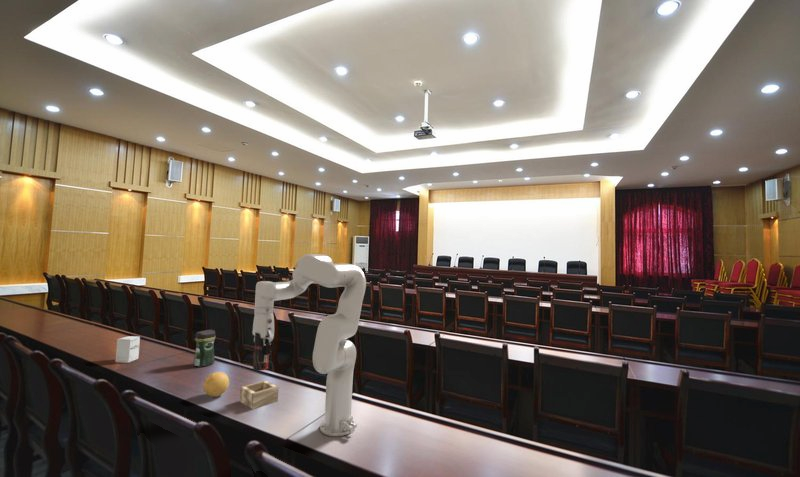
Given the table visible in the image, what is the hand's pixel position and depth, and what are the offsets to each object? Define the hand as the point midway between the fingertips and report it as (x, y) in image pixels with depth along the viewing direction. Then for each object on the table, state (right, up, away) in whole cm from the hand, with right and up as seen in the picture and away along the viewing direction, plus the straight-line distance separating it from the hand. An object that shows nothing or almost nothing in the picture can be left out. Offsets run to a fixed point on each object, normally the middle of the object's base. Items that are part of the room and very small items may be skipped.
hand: (261, 352), depth 146 cm
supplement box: (-92, -19, +44) cm, 104 cm away
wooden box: (-1, -20, -1) cm, 20 cm away
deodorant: (0, -7, 0) cm, 7 cm away
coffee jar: (-49, -21, +42) cm, 67 cm away
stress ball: (-21, -20, +3) cm, 29 cm away
